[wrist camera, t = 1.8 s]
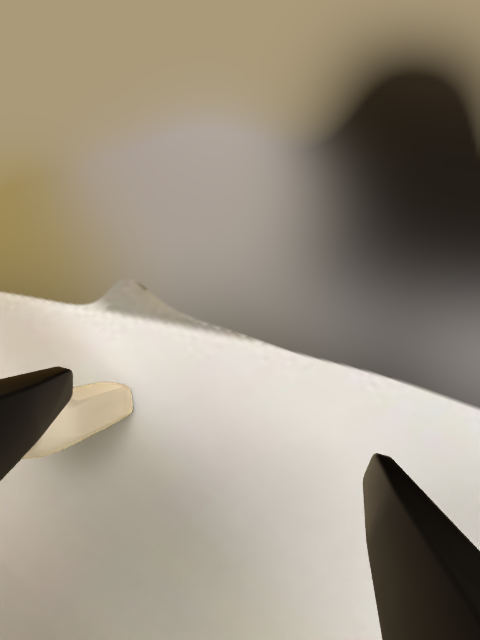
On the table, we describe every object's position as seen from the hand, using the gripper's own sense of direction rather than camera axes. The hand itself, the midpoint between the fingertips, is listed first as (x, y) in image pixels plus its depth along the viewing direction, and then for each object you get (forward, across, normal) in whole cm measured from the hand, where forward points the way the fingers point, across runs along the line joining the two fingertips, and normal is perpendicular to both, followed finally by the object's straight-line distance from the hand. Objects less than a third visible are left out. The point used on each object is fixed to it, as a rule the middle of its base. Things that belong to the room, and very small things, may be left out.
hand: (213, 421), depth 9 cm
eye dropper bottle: (+13, +11, +11) cm, 20 cm away
